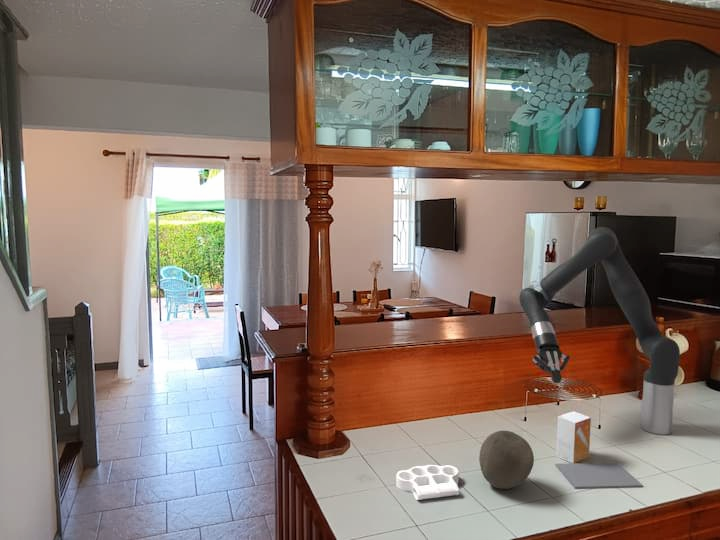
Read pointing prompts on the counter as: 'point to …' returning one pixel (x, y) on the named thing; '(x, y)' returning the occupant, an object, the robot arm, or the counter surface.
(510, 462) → the cantaloupe
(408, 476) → the knuckle duster
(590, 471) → the mat
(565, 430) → the small box
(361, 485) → the counter surface
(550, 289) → the robot arm
